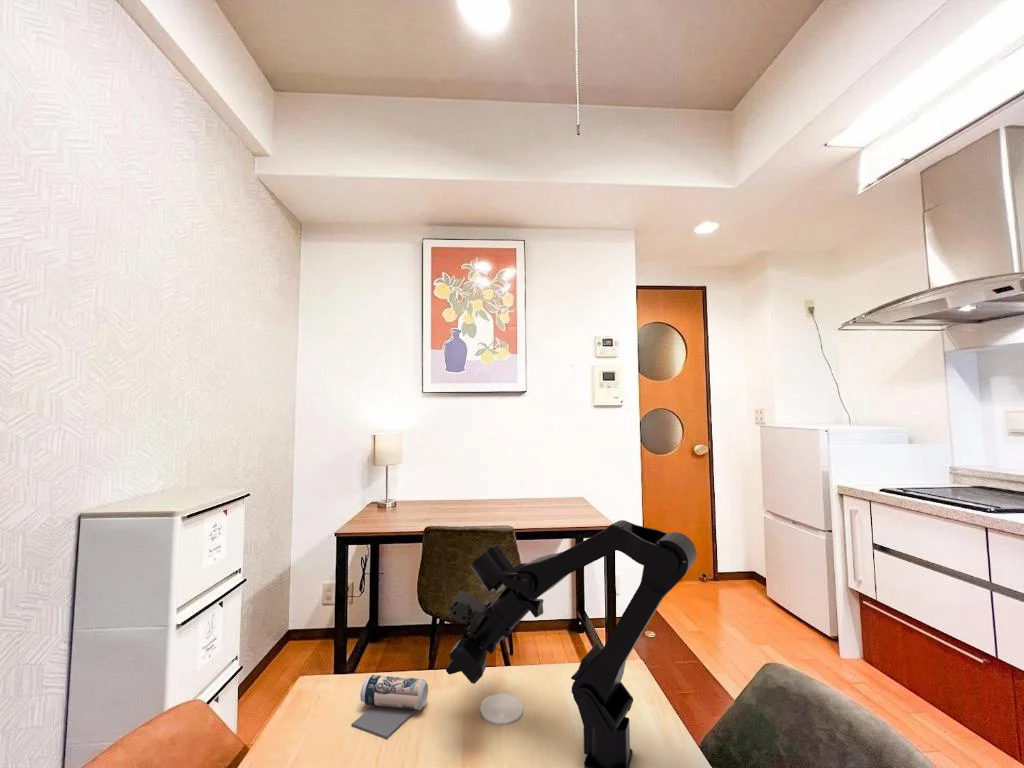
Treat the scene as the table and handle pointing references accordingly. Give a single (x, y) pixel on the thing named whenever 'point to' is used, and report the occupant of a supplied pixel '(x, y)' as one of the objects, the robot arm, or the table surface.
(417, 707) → the beer can
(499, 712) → the coaster
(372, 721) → the mat
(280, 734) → the table surface
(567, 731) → the table surface
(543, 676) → the table surface
